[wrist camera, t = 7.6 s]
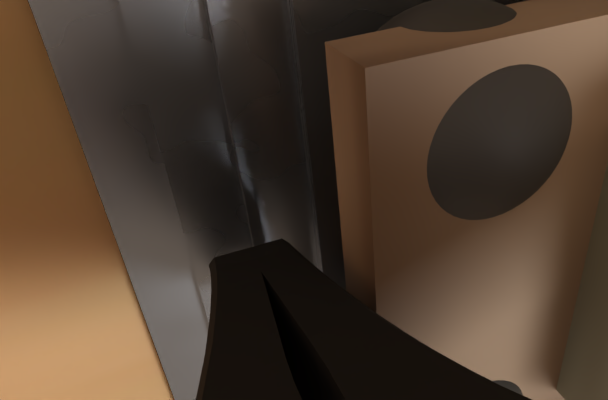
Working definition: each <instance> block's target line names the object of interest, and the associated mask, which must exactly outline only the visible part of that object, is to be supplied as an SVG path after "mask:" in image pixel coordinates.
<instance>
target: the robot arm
mask: <svg viewBox="0 0 608 400" xmlns="http://www.w3.org/2000/svg"><path fill="white" fill-rule="evenodd" d="M209 269H210V275H211V306H210V319H209V327H208V334H207V342H206V350H205V356H204V362H203V366H202V371H201V376H200V381H199V386H198V391H197V396H196V400H532V399H530V398H528V397H525V396H523V395H521V394H519V393H516V392H514V391H512V390H510V389H507V388H505V387H503V386H501V385H499V384H497V383H495V382H493V381H491V380H489V379H487V378H485V377H483V376H481V375H479V374H477V373H475V372H474V371H472V370H470V369H468V368H466V367H464V366H462V365H460V364H459V363H457V362H455V361H453V360H451V359H450V358H448V357H446V356H444V355H442V354H441V353H439V352H437V351H435V350H434V349H432V348H430V347H429V346H427V345H425V344H424V343H422V342H420V341H419V340H417V339H415V338H414V337H412V336H411V335H409V334H407V333H406V332H404V331H403V330H401V329H400V328H398V327H397V326H395V325H394V324H392V323H391V322H389V321H388V320H386V319H384V318H383V317H382V316H380V315H379V314H377V313H376V312H374V311H373V310H372V309H370V308H369V307H367V306H366V305H365V304H363V303H362V302H361V301H359V300H358V299H357V298H355V297H354V296H352V295H351V294H350V293H348V292H347V291H346V290H344V289H343V288H342V287H340V286H339V285H338V284H337V283H335V282H334V281H333V280H332V279H330V278H329V277H328V276H327V275H325V274H324V273H323V272H322V271H321V270H319V269H318V268H317V267H316V266H314V265H313V264H312V263H311V262H310V261H309V260H308V259H306V258H305V257H304V256H303V255H302V254H301V253H300V252H299V251H297V250H296V249H295V248H294V247H293V246H292V245H291V244H290V243H289V242H287V241H286V240H284V239H282V238H281V239H278V240H274V241H271V242H267V243H264V244H260V245H257V246H253V247H250V248H246V249H242V250H239V251H235V252H232V253H228V254H225V255H221V256H218V257H214V258H213V259H212V261H211V262H210V264H209Z"/></svg>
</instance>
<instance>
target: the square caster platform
mask: <svg viewBox="0 0 608 400" xmlns="http://www.w3.org/2000/svg"><path fill="white" fill-rule="evenodd" d="M325 51H326V63H327V74H328V86H329V97H330V109H331V120H332V132H333V143H334V155H335V166H336V178H337V189H338V201H339V212H340V224H341V235H342V247H343V258H344V270H345V281H346V291H347V292H348V293H350V294H351V295H352V296H354V297H355V298H357V299H358V300H359V301H361V302H362V303H363V304H365V305H366V306H367V307H369V308H370V309H372V310H373V311H374V312H376V313H377V314H379V315H380V316H382V317H383V318H384V319H386V320H388V321H389V322H391V323H392V324H394V325H395V326H397V327H398V328H400V329H401V330H403V331H404V332H406V333H407V334H409V335H411V336H412V337H414V338H415V339H417V340H419V341H420V342H422V343H424V344H425V345H427V346H429V347H430V348H432V349H434V350H435V351H437V352H439V353H441V354H442V355H444V356H446V357H448V358H450V359H451V360H453V361H455V362H457V363H459V364H460V365H462V366H464V367H466V368H468V369H470V370H472V371H474V372H475V373H477V374H479V375H481V376H483V377H485V378H487V379H489V380H491V381H493V382H495V383H497V384H499V385H501V386H503V387H505V388H507V389H510V390H512V391H514V392H516V393H519V394H521V395H523V396H525V397H528V398H530V399H532V400H608V0H528V1H523V2H518V3H513V4H508V5H503V4H500V3H498V2H495V1H491V0H432V1H428V2H424V3H422V4H419V5H416V6H414V7H412V8H409V9H407V10H405V11H403V12H401V13H400V14H398V15H396V16H395V17H393V18H392V19H390V20H389V21H388V22H386V23H385V24H384V25H382V26H381V27H380V28H379V29H378V30H377V31H376V32H371V33H366V34H361V35H357V36H352V37H347V38H342V39H337V40H332V41H327V42H325Z"/></svg>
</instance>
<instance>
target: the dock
mask: <svg viewBox="0 0 608 400" xmlns="http://www.w3.org/2000/svg"><path fill="white" fill-rule="evenodd" d="M428 1H432V0H28V2H29V4H30V7H31V10H32V13H33V15H34V18H35V21H36V24H37V26H38V29H39V32H40V34H41V37H42V40H43V43H44V45H45V48H46V51H47V54H48V56H49V59H50V62H51V64H52V67H53V70H54V73H55V75H56V78H57V81H58V83H59V86H60V89H61V92H62V94H63V97H64V100H65V103H66V105H67V108H68V111H69V113H70V116H71V119H72V122H73V124H74V127H75V130H76V132H77V135H78V138H79V141H80V143H81V146H82V149H83V152H84V154H85V157H86V160H87V162H88V165H89V168H90V171H91V173H92V176H93V179H94V182H95V184H96V187H97V190H98V192H99V195H100V198H101V201H102V203H103V206H104V209H105V211H106V214H107V217H108V220H109V222H110V225H111V228H112V231H113V233H114V236H115V239H116V241H117V244H118V247H119V250H120V252H121V255H122V258H123V260H124V263H125V266H126V269H127V271H128V274H129V277H130V280H131V282H132V285H133V288H134V290H135V293H136V296H137V299H138V301H139V304H140V307H141V310H142V312H143V315H144V318H145V320H146V323H147V326H148V329H149V331H150V334H151V337H152V339H153V342H154V345H155V348H156V350H157V353H158V356H159V359H160V361H161V364H162V367H163V369H164V372H165V375H166V378H167V380H168V383H169V386H170V388H171V391H172V394H173V397H174V399H175V400H196V396H197V391H198V386H199V381H200V376H201V371H202V366H203V362H204V356H205V350H206V342H207V334H208V327H209V319H210V306H211V275H210V269H209V264H210V262H211V261H212V259H213V258H214V257H218V256H221V255H225V254H228V253H232V252H235V251H239V250H242V249H246V248H250V247H253V246H257V245H260V244H264V243H267V242H271V241H274V240H278V239H281V238H282V239H284V240H286V241H287V242H289V243H290V244H291V245H292V246H293V247H294V248H295V249H296V250H297V251H299V252H300V253H301V254H302V255H303V256H304V257H305V258H306V259H308V260H309V261H310V262H311V263H312V264H313V265H314V266H316V267H317V268H318V269H319V270H321V271H322V272H323V273H324V274H325V275H327V276H328V277H329V278H330V279H332V280H333V281H334V282H335V283H337V284H338V285H339V286H340V287H342V288H343V289H344V290H346V281H345V270H344V258H343V247H342V235H341V224H340V212H339V201H338V189H337V178H336V166H335V155H334V143H333V132H332V120H331V109H330V97H329V86H328V74H327V63H326V51H325V42H327V41H332V40H337V39H342V38H347V37H352V36H357V35H361V34H366V33H371V32H376V31H377V30H378V29H379V28H380V27H381V26H382V25H384V24H385V23H386V22H388V21H389V20H390V19H392V18H393V17H395V16H396V15H398V14H400V13H401V12H403V11H405V10H407V9H409V8H412V7H414V6H416V5H419V4H422V3H424V2H428ZM491 1H495V2H498V3H500V4H503V5H508V4H513V3H518V2H523V1H528V0H491Z"/></svg>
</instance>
